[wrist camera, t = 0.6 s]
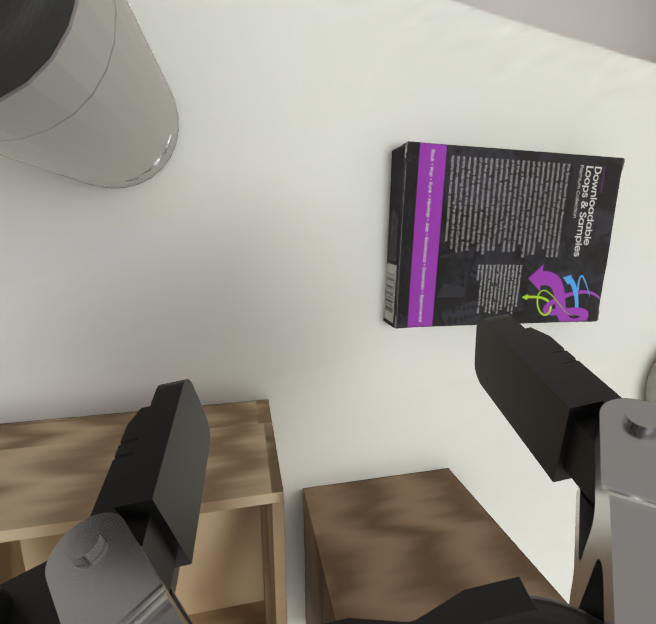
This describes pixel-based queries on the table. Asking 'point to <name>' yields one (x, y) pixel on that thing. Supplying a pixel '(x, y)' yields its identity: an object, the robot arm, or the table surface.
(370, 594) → the riser
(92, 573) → the robot arm
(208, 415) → the wooden open bin
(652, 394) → the flag stand
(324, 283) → the table surface
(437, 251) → the box
